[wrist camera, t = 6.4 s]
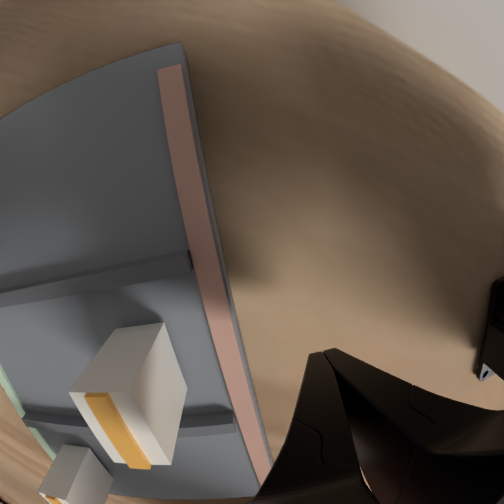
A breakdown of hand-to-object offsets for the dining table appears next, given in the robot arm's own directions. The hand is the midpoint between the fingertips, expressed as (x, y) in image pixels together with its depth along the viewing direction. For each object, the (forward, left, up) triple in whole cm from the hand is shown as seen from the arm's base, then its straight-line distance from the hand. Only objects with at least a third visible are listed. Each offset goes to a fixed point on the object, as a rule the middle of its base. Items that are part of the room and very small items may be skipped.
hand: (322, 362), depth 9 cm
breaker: (+13, +7, -2) cm, 15 cm away
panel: (+10, 0, -3) cm, 10 cm away
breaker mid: (+6, 0, -2) cm, 6 cm away
